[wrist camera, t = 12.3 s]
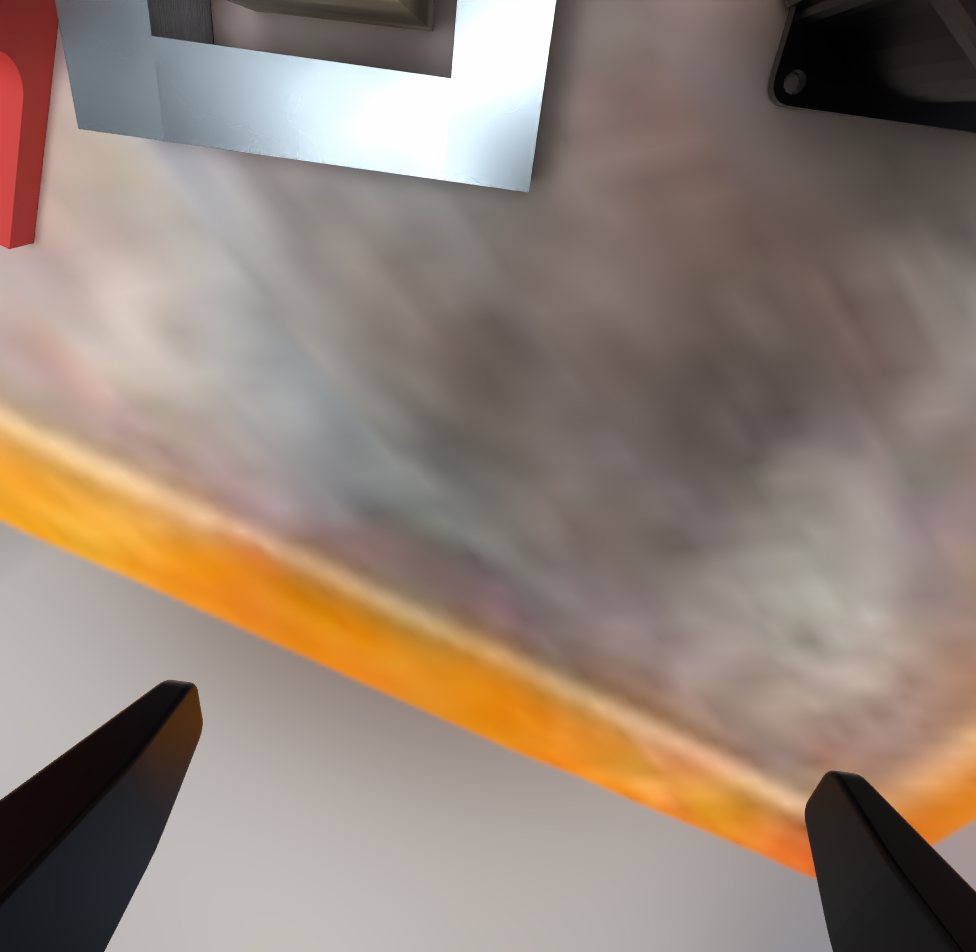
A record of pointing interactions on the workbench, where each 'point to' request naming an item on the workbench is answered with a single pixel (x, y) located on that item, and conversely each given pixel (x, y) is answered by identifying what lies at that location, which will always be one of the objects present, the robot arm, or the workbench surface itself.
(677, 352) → the workbench surface
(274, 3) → the birch peg
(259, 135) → the plate
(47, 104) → the bracket
